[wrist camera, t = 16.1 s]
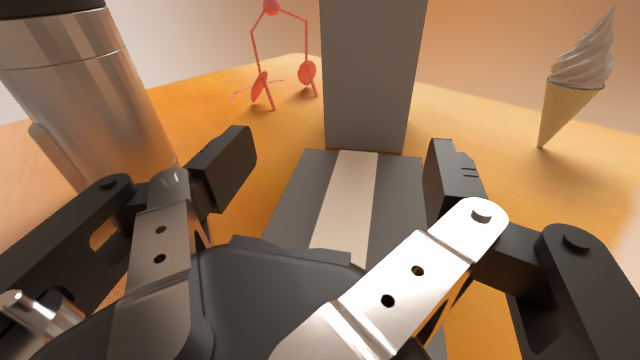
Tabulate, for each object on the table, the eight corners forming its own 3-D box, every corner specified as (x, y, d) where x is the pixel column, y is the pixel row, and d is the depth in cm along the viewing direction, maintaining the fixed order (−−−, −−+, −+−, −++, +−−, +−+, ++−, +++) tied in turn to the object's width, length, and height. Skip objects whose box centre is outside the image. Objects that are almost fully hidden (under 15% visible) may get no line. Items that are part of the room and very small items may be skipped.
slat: (344, 449, 12) (345, 440, 11) (265, 424, 13) (255, 412, 12) (376, 172, 29) (378, 152, 28) (340, 168, 30) (340, 149, 28)
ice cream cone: (548, 136, 35) (622, 1, 26) (574, 157, 31) (673, 7, 22) (508, 136, 36) (567, 4, 26) (529, 157, 32) (608, 10, 22)
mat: (457, 499, 12) (464, 499, 11) (184, 413, 15) (176, 407, 14) (419, 166, 32) (421, 157, 31) (306, 156, 34) (305, 148, 34)
